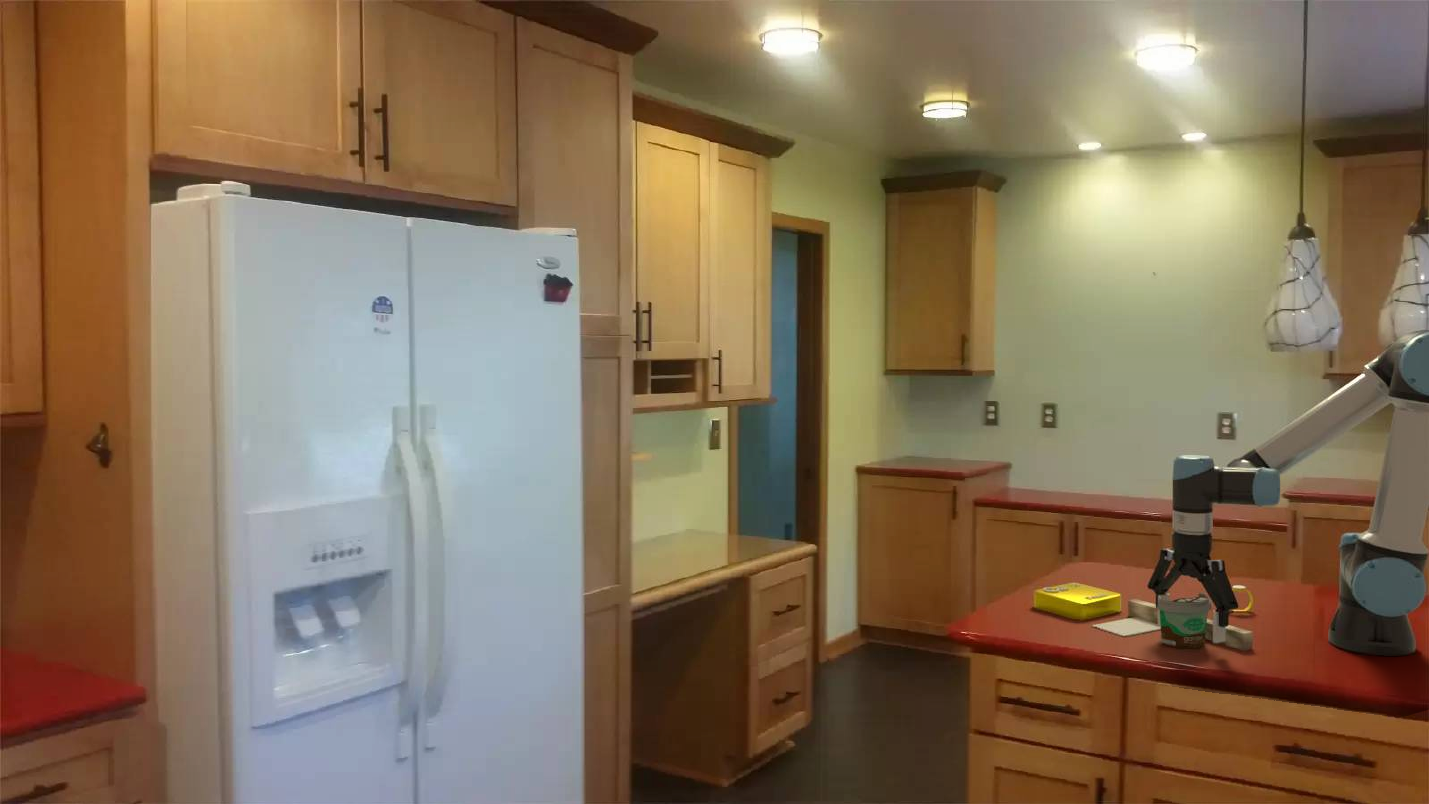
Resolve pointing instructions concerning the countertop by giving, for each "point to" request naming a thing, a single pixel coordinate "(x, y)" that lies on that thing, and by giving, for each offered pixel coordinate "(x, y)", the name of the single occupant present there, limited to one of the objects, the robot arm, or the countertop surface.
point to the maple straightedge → (1233, 634)
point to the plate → (1129, 626)
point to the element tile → (1077, 601)
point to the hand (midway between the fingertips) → (1190, 633)
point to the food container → (1184, 622)
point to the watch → (1243, 588)
